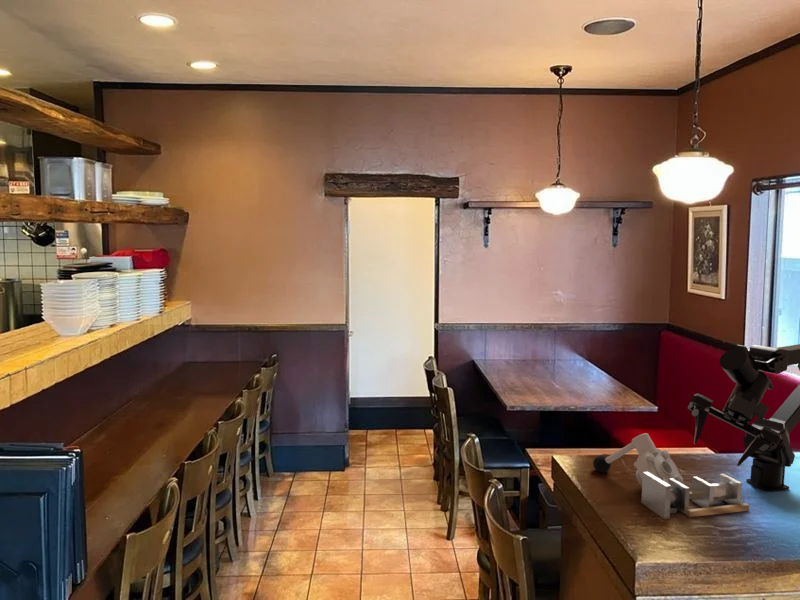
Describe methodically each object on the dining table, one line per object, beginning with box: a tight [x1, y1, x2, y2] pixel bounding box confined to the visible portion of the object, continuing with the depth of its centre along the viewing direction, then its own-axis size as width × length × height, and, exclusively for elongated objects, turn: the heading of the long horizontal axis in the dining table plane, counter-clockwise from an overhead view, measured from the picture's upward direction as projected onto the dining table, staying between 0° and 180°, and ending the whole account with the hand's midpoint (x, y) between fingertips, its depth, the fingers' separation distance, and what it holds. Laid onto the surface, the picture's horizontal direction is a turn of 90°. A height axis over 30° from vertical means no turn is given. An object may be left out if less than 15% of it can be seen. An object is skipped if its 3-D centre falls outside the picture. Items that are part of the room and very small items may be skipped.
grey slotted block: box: [690, 473, 743, 508], centre depth 141 cm, size 8×6×6 cm
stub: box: [640, 472, 691, 520], centre depth 138 cm, size 7×8×7 cm
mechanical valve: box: [592, 432, 684, 487], centre depth 153 cm, size 10×18×15 cm
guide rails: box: [686, 490, 750, 518], centre depth 141 cm, size 14×9×1 cm, turn 103°
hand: (715, 454), depth 141 cm, fingers open, 9 cm apart
